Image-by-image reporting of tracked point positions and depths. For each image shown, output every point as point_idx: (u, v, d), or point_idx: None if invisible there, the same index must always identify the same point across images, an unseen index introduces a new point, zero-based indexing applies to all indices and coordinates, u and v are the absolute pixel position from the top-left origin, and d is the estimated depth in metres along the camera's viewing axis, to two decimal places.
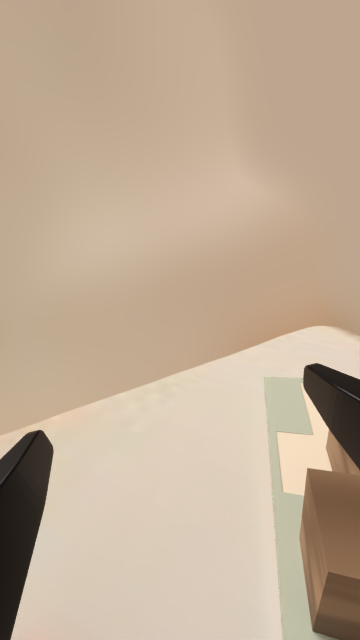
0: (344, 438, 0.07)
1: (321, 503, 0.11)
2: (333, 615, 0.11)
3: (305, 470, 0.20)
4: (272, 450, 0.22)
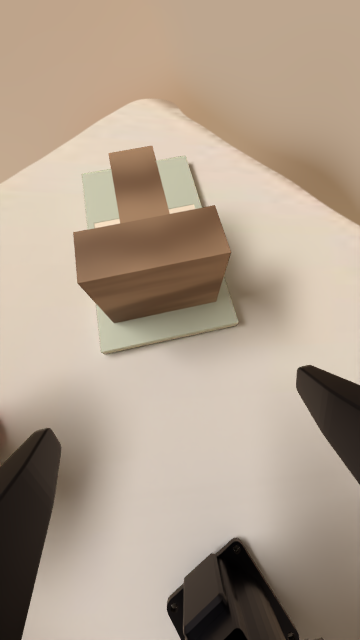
0: (336, 440, 0.07)
1: (79, 250, 0.16)
2: (110, 308, 0.19)
3: None
4: None
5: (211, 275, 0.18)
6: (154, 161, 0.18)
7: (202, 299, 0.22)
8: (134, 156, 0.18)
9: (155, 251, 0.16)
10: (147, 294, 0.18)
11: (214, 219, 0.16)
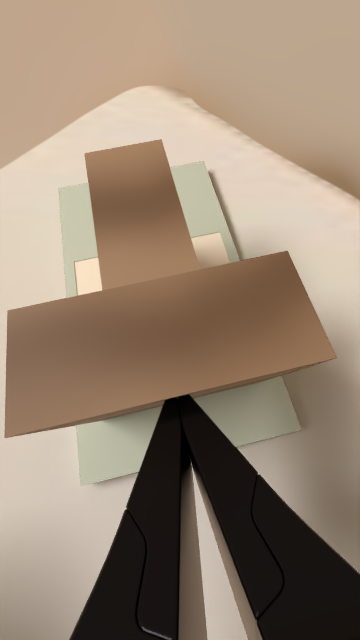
0: (196, 477, 0.07)
1: (16, 354, 0.08)
2: (90, 421, 0.11)
3: None
4: (69, 287, 0.17)
5: (276, 375, 0.10)
6: (166, 166, 0.10)
7: None
8: (130, 158, 0.10)
9: (175, 354, 0.07)
10: (155, 405, 0.10)
11: (290, 281, 0.08)
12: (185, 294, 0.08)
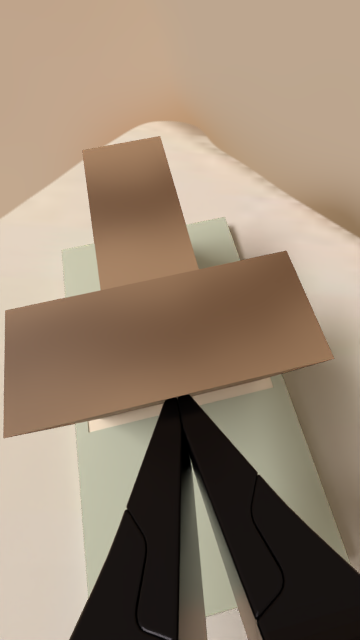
0: (196, 477, 0.07)
1: (14, 354, 0.08)
2: (89, 420, 0.11)
3: None
4: None
5: None
6: (165, 164, 0.10)
7: (240, 384, 0.14)
8: (128, 155, 0.10)
9: (174, 355, 0.07)
10: (154, 404, 0.10)
11: (289, 281, 0.08)
12: (184, 294, 0.08)
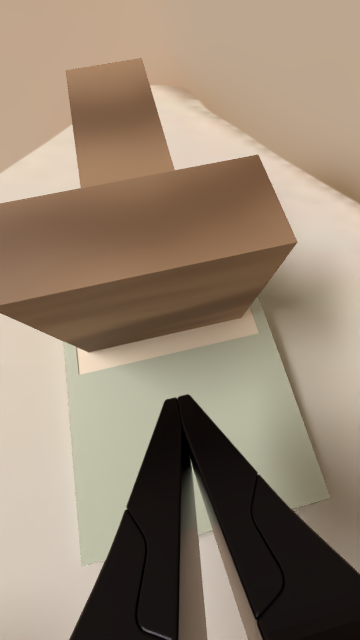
0: (196, 477, 0.07)
1: None
2: (76, 337, 0.12)
3: None
4: None
5: (248, 283, 0.10)
6: (145, 82, 0.10)
7: (222, 316, 0.14)
8: (110, 75, 0.11)
9: (148, 240, 0.08)
10: (136, 315, 0.11)
11: (259, 180, 0.09)
12: (159, 191, 0.09)
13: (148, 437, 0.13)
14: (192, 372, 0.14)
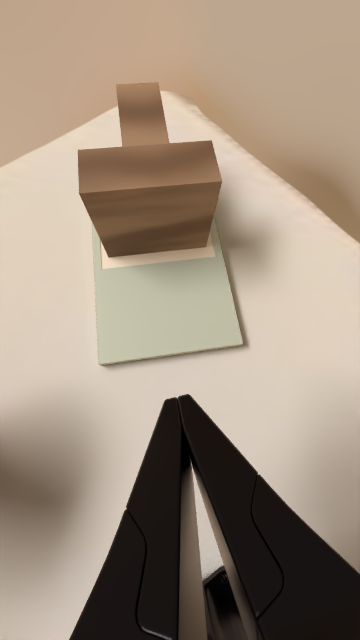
0: (196, 477, 0.07)
1: (82, 166, 0.17)
2: (106, 235, 0.21)
3: None
4: (95, 240, 0.24)
5: (203, 208, 0.19)
6: (159, 96, 0.19)
7: (193, 241, 0.23)
8: (140, 90, 0.20)
9: (153, 173, 0.17)
10: (142, 222, 0.20)
11: (209, 152, 0.18)
12: (161, 152, 0.18)
13: (141, 305, 0.22)
14: (172, 274, 0.23)
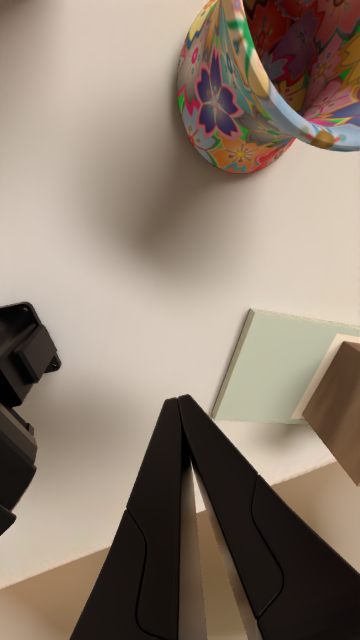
0: (196, 476, 0.07)
1: None
2: None
3: None
4: None
5: (340, 451, 0.22)
6: None
7: (313, 413, 0.26)
8: None
9: None
10: None
11: None
12: None
13: (284, 358, 0.24)
14: (296, 386, 0.26)
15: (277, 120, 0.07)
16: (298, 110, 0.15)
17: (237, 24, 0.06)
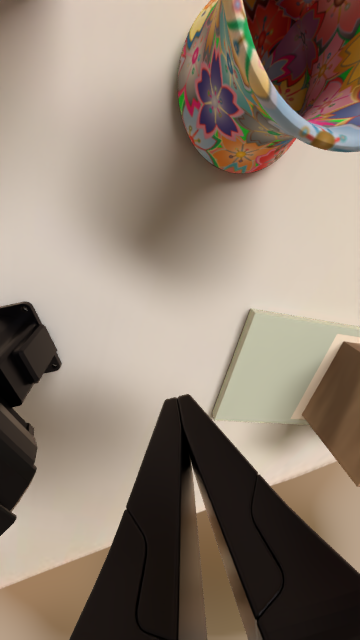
0: (196, 477, 0.07)
1: None
2: None
3: None
4: None
5: (340, 452, 0.22)
6: None
7: (313, 413, 0.26)
8: None
9: None
10: None
11: None
12: None
13: (284, 359, 0.24)
14: (296, 386, 0.26)
15: (277, 120, 0.07)
16: (298, 110, 0.15)
17: (237, 24, 0.06)
